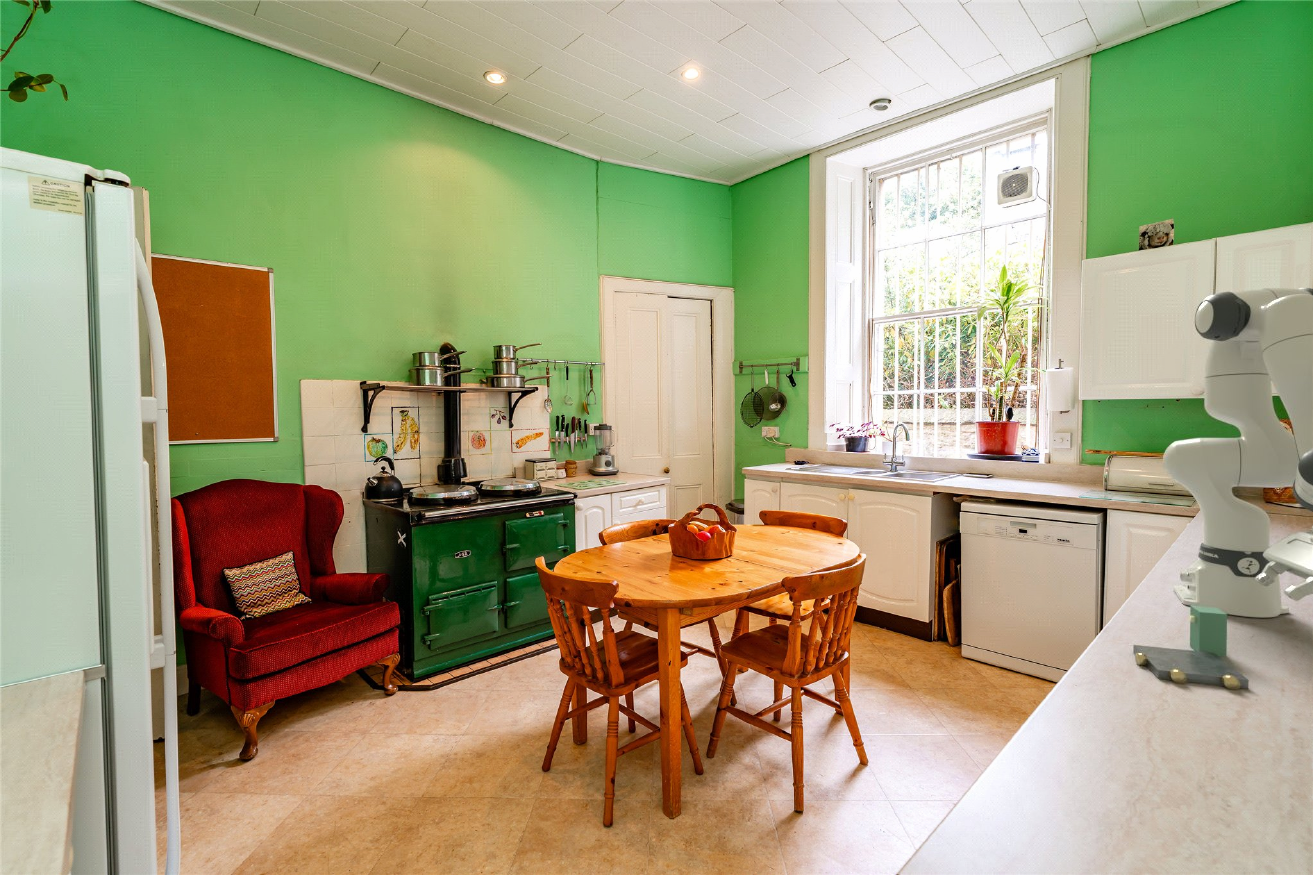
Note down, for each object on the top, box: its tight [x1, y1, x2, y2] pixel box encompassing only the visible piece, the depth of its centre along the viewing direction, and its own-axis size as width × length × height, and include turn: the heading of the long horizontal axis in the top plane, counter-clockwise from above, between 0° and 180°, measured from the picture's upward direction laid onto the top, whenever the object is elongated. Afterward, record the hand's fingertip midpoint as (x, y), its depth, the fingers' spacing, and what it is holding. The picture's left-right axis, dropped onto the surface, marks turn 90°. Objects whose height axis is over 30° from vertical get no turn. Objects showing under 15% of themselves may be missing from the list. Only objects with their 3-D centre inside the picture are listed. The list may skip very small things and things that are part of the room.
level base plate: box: [1132, 644, 1249, 691], centre depth 108 cm, size 13×13×2 cm
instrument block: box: [1189, 605, 1228, 658], centre depth 116 cm, size 4×5×8 cm
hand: (1274, 589), depth 112 cm, fingers open, 8 cm apart
